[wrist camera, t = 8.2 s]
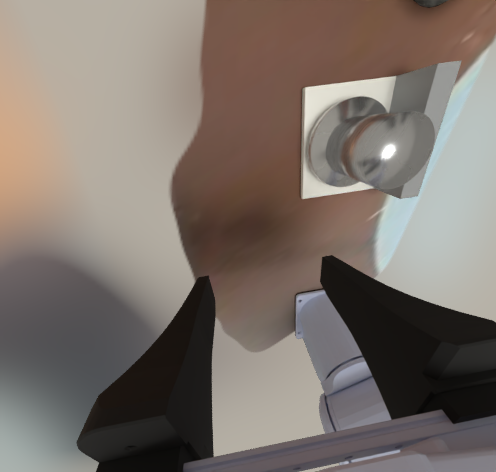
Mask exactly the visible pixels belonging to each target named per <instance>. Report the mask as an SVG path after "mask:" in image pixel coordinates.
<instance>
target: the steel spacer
mask: <svg viewBox="0 0 496 472" xmlns="http://www.w3.org/2000/svg"><path fill="white" fill-rule="evenodd" d="M434 141H435V130H434V126H433V123H432V121H431V119H430V118H429V117H428V116H427V115H425V114H424V113H421V112H418V111H406V112H395V113H385V114H374V115H363V116H354V117H350V118H348V119H346V120H344V121H343V122H341V123H340V124H339V125H338V126H337V127H336V128H335V129H334V130H333V132H332V133H331V135H330V137H329V139H328V142H327V146H326V160H327V163H328V165H329V167H330V168H331V169H332V170H333V171H335V172H336V173H339V174H341V175H344V176H347V177H349V178H352V179H354V180H357V181H360V182H362V183H365V184H368V185H370V186H373V187H375V188H378V189H384V190H385V189H393V188H397V187H399V186H401V185H403V184H405V183H407V182H408V181H410V180H411V179H412V178H413V177H414V176H416V175H417V174H418V172H419V171H420V170H421V169H422V168H423V166H424V165H425V164H426V162H427V160H428V158H429V157H430V154H431V152H432V149H433V146H434Z"/></svg>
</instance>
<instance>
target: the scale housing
mask: <svg viewBox="0 0 496 472" xmlns="http://www.w3.org/2000/svg"><path fill="white" fill-rule="evenodd" d="M460 64H461V61H455V62H447V63H438V64H435V65H432V66H428V67H425V68H422V69H418V70H415V71H412V72H408V73H405V74H402V75H398V76H393V77H385V78H377V79H369V80H361V81H353V82H345V83H337V84H329V85H321V86H313V87H305V88H303V89H302V143H301V198H302V199H306V198H313V197H320V196H326V195H333V194H339V193H346V192H353V191H359V190H366V189H372V188H374V189H377V190H379V191H382V192H384V193H387V194H389V195H392V196H394V197H397V198H400V199H402V198H409V197H415V196H418V194H419V191H420V188H421V185H422V182H423V179H424V175H425V172H426V169H427V166H428V163H429V160H430V157H431V154H432V152H431V154H430V157H429V158H428V160H427V162H426V164H425V165H424V166H423V168H422V169H421V170H420V171H419V172H418V174H417V175H416V176H414V177H413V178H412V179H411V180H410V181H408V182H407V183H405V184H403V185H401V186H399V187H397V188H393V189H385V190H384V189H378V188H375V187H373V186H370V185H368V184H365V183H362V182H358V183H356V184H354V185H351V186H347V187H335V186H331V185H328V184H326V183H324V182H323V181H321V180H319V179H318V178H317V177H316V176H315V175H314V173H313V172H312V170H311V168H310V165H309V162H308V153H307V150H308V143H309V138H310V135H311V132H312V130H313V128H314V126H315V124H316V123H317V121H318V120H319V118H320V117H321V116H322V115H323V114H324V112H325V111H327V110H328V109H329V108H330V107H331V106H333V105H334V104H336V103H338V102H340V101H342V100H345V99H349V98H353V97H359V96H365V97H370V98H373V99H375V100H377V101H379V102H380V103H381V104H382V105H383V106H384V107H385V109H386V110H387V112H388V113H395V112H406V111H418V112H421V113H424V114H425V115H427V116H428V117H429V118H430V119H431V121H432V123H433V126H434V130H435V141H436V138H437V135H438V132H439V129H440V126H441V123H442V120H443V117H444V114H445V111H446V107H447V104H448V101H449V98H450V95H451V92H452V89H453V86H454V83H455V80H456V76H457V73H458V70H459V67H460ZM435 141H434V145H435ZM433 148H434V146H433ZM432 151H433V149H432Z"/></svg>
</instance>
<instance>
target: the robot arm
mask: <svg viewBox="0 0 496 472" xmlns="http://www.w3.org/2000/svg"><path fill="white" fill-rule="evenodd" d="M320 282H321V284H322V286H323V289H324V290H319V291H313V292H307V293H301V294H298V295H296V330H295V333H296V334H295V336H296V338H297V339H300V338H303V340H304V342H305V345H306V347H307V350H308V353H309V355H310V358H311V361H312V363H313V366H314V368H315V371H316V373H317V376H318V378H319V379H320V381H321V385H322V388H323V390H324V394H322V395H321V396H320V403H319V413H320V418H321V421H322V425H323V428H324V431H325V434H322V435H317V436H312V437H307V438H302V439H298V440H293V441H288V442H283V443H279V444H274V445H269V446H264V447H259V448H255V449H250V450H245V451H241V452H235V453H231V454H226V455H221V456H217V457H214V456H213V429H212V348H213V337H214V326H215V297H214V294H213V290H212V287H211V283H210V279H209V276H204V277H199V278H198V279H197V281H196V282H195V284H194V286H193V288H192V290H191V292H190V293H189V295H188V297H187V298H186V300H185V302H184V303H183V305H182V307H181V308H180V310H179V311H178V313H177V314H176V316H175V317H174V319H173V320H172V321H171V323H170V324H169V325H168V327H167V328H166V329H165V331H164V332H163V333H162V334H161V335H160V337H159V338H158V339H157V340H156V341H155V342H154V343H153V345H152V346H151V347H150V348H149V349H148V350H147V351H146V352H145V354H143V355H142V356H141V358H140V359H138V360H137V361H136V362H135V364H133V365H132V366H131V367H130V368H129V369H128V370H127V371H126V372H125V373H124V374H123V375H122V376H121V377H119V378H118V379H117V380H116V381H115V382H114V383H112V384H111V385H110V386H109V387H108V388H107V389H106V390H105V391H103V392H102V393H101V394H100V395H99V396H98V398H97V400H96V402H95V404H94V405H93V407H92V409H91V412H90V414H89V416H88V418H87V420H86V423H85V425H84V427H83V429H82V431H81V434H80V436H79V438H78V440H77V446H78V449H79V450H80V451H81V452H83V453H85V454H86V455H88V456H89V457H91V458H92V459H94V460H96V461H98V462H99V465H98V468H97V471H96V472H299V471H303V470H308V469H313V468H317V467H322V466H326V465H331V464H336V463H339V466H335V467H331V468H327V469H323V470H320V471H316V472H496V322H494V321H492V320H488V319H485V318H481V317H477V316H473V315H469V314H466V313H462V312H458V311H455V310H451V309H448V308H445V307H442V306H439V305H435V304H432V303H429V302H427V301H424V300H421V299H418V298H416V297H413V296H410V295H408V294H405V293H403V292H401V291H398V290H396V289H393V288H391V287H389V286H387V285H385V284H383V283H381V282H379V281H377V280H375V279H373V278H371V277H369V276H367V275H365V274H364V273H362V272H360V271H358V270H356V269H355V268H353V267H351V266H350V265H348V264H346V263H344V262H343V261H341V260H339V259H338V258H336V257H334V256H332V255H331V256H325V257H322V267H321V278H320Z"/></svg>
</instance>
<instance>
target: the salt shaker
mask: <svg viewBox="0 0 496 472" xmlns="http://www.w3.org/2000/svg"><path fill="white" fill-rule="evenodd" d="M414 1H415V2H416V3H418V4H419V5H420V6H424V7H434V6H438V5H440V4H442V3H444V2H446V1H447V0H414Z"/></svg>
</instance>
